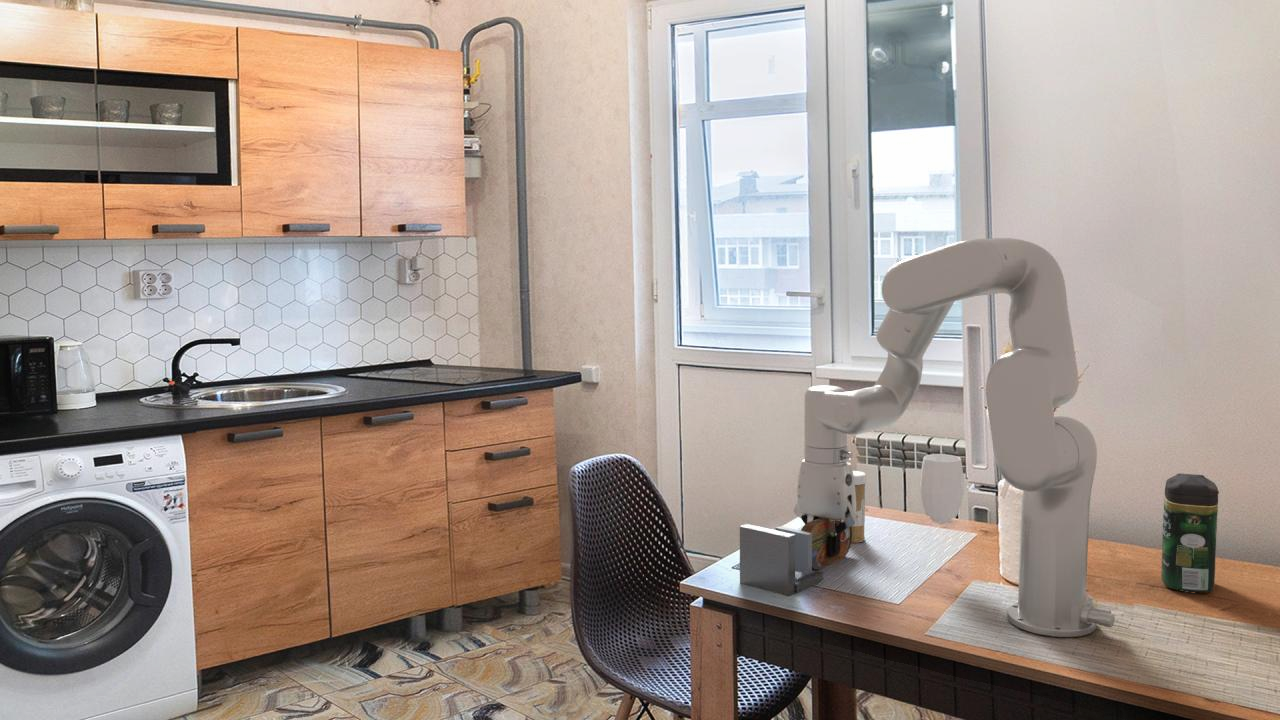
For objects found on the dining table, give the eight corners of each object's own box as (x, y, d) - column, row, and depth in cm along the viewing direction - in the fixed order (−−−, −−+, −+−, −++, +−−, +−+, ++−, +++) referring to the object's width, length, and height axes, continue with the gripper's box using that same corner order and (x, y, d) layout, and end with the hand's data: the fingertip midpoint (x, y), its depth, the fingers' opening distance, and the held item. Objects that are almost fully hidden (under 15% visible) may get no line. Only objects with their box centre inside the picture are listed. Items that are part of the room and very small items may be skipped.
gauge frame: (822, 580, 175) (823, 524, 174) (789, 596, 168) (790, 537, 167) (772, 568, 182) (772, 513, 181) (738, 582, 175) (738, 525, 174)
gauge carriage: (811, 572, 176) (812, 533, 175) (808, 574, 175) (808, 534, 174) (769, 562, 182) (769, 523, 181) (765, 563, 181) (765, 525, 180)
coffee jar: (1158, 573, 176) (1163, 468, 174) (1211, 579, 173) (1216, 472, 171) (1161, 591, 168) (1166, 481, 165) (1216, 597, 164) (1222, 485, 162)
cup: (961, 582, 173) (963, 463, 171) (917, 578, 176) (919, 461, 173) (962, 569, 180) (964, 454, 178) (919, 566, 182) (921, 452, 180)
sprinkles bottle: (838, 541, 197) (839, 474, 196) (845, 535, 201) (845, 469, 200) (861, 544, 195) (862, 476, 194) (868, 538, 199) (868, 471, 198)
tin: (809, 574, 179) (809, 528, 178) (794, 570, 181) (794, 524, 180) (853, 554, 190) (854, 510, 189) (838, 550, 192) (839, 507, 191)
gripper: (876, 457, 180) (875, 557, 182) (799, 445, 191) (798, 540, 193) (854, 464, 175) (853, 568, 177) (776, 452, 186) (776, 550, 188)
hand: (824, 552), depth 185 cm, fingers closed on tin, 2 cm apart
